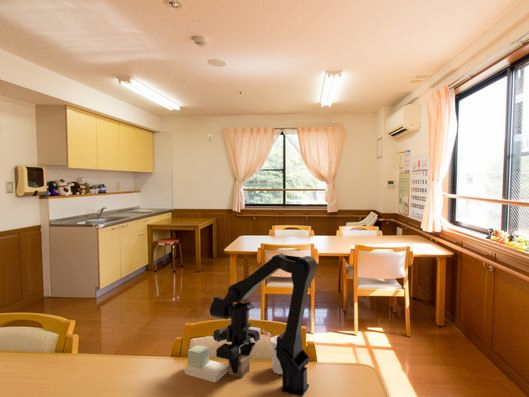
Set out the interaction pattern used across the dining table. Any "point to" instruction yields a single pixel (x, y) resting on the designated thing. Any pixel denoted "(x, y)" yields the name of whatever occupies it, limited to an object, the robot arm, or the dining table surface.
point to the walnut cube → (241, 366)
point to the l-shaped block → (204, 365)
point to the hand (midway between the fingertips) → (239, 369)
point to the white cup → (275, 361)
